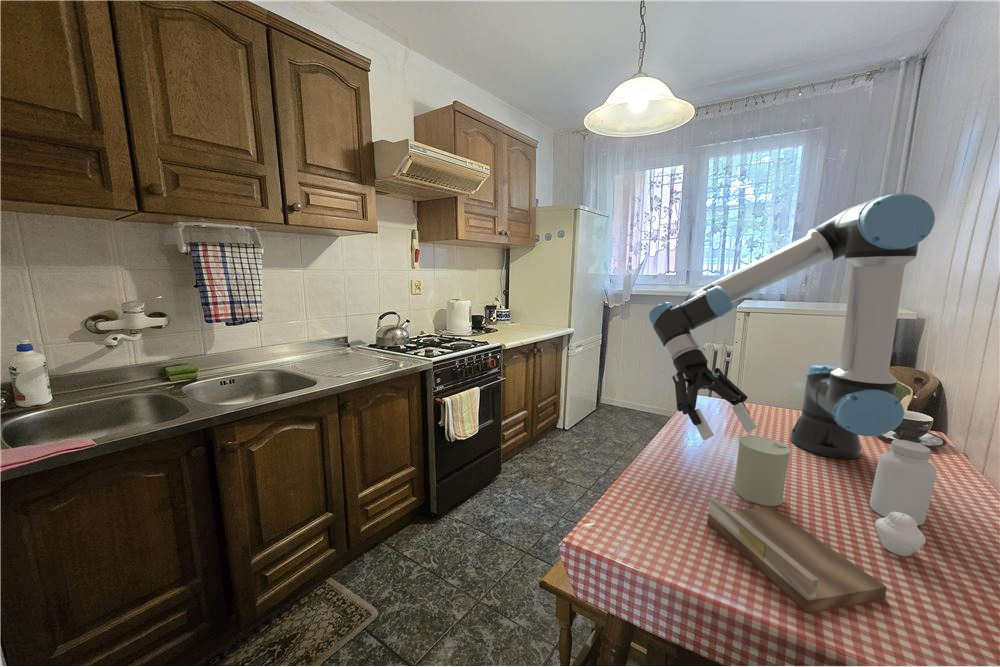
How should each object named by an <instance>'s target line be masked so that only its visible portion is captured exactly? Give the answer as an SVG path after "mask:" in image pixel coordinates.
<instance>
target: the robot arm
mask: <svg viewBox="0 0 1000 667" xmlns="http://www.w3.org/2000/svg"><path fill="white" fill-rule="evenodd" d="M935 222H936V216H935V211H934V209H933V207H932V206H931V204H929V202H928V201H926V200H925V199H924V198H922V197H920V196H918V195H915V194H912V193H911V194H910V193H904V192H903V193H893V194H888V195H887V194H885V195H880V196H877V197H875V198H873V199H871V200H868V201H864V202H860V203H857V204H855V205H853V206H850V207H847V209H845V210H842V211H841V212H840V213H838V214H837V215H835V216H834V217H832V218H830V219H828V220H826V221H825V222H823V223H821V224H819V225H817V226H816V227H813V228H812V229H810V230H808V232H807V234H806V236H805V237H802V238H800V239H798V240H796V241H794V242H792V243H790V244H788V245H786V246H784V247H782V248H780V249H777V250H776V251H774V252H772V253H770V254H768V255H766V256H764V257H761V258H760V259H758V260H755V261H754V262H751V263H749V264H748V265H745V266H744V267H742V268H740V269H738V270H735V271H734V272H733V271H732V272H731V273H730V274H728V275H725V276H723V277H721V278H720V279H718V280H715V281H713V282H712V283H710V284H707V285H705V286H703V287H701V288H698V289H694V290H693V291H691V292H689V293H688V294H687V295H686V297H685V298H684V299H685V300H684V302H682V303H680V304H678V305H674V303H672V302H668V301H666V302H663V303H659V304H658V305H655V306H654V307H652V309H651V310H650V311H649V313H648V319H649V321H650V323H651V326H652V328H653V330H654V331H655V333H656V335H657V338H659V341H660V342H661V344H662V346H663V348H664V349H665V351H666V353H667V355H668V356H669V358H670V360H671V361H672V364H673V366H674V368H675V370H676V373H675V374H673V376H672V377H671V378H672V381H673V383H674V388H675V398H676V399H675V401H676V409H677V412H679V413H680V412H682V414H683V415H688V416H689V420H690V421H691V423H692V424H693V425H694V426H695V427H696V429H697V431H698V433H699V434H700V436H701V438H702V440H703V441H706V440H708V439H710V438H712V437H713V436H715V433H713V430H712V428H711V427H710V425H709V423H708V421H707V420H706V418H705V417H704V413H703V412H702V411H701V409H700V408H696V405H697V400H698V393H699V391H700V390H708V391H713V393H715V394H717V395H718V396H719V397H720V398H722V399H724V400H725V401H727V402H728V403H730V405H733V406H731V409H732V410H733V412H734V414H735V415H736V417H737V419H738V420H739V422H740V424H741V425H742V427H743V429H744V430H745V433H750V432H752V431H754V430H756V429H758V428H759V427H758V425H757V424H756V423H755V421H754V419H753V418H752V416H751V413H750V411H749V410H748V408H747V407H746V405H745V403H744V402H746V401H747V399H748V396H747V394H745V393H744V392H743V391H742V390H741V389H740V388H739V387H738V386H737V385H736V384H735V383H733V382H732V381H731V380H730V379H729V378H728V377H727V376H726V375H725V374H724V373H723V371H722V370H721V369H720V368H719V367H715V369H712V370H711V369H709V367H708V363H709V362H708V359H707V357H706V356H705V354H704V352H703V351H702V350H701V349H700V345H699V344H698V342H697V341H696V339H695V337H694V336H693V334H692V333H691V331H693V330H695V329H697V328H699V327H701V326H703V325H705V324H708V323H711V322H712V321H713V320H715V319H719V318H722V317H723V316H724V315H726V314H727V313H729V312H731V311H733V309H734V305H733V303H735V302H736V301H738V300H741V299H742V298H745V297H747V296H749V295H751V294H753V293H756V292H758V291H760V290H762V289H765V288H767V287H768V286H771V285H773V284H775V283H777V282H780V281H782V280H784V279H786V278H788V277H791V276H792V275H794V274H797V273H799V272H802V271H803V270H806V269H807V268H811V267H812V266H814V265H817V264H819V263H821V262H827V263H829V262H830V263H831V262H832V261H835V260H837V259H839V258H841V257H844V260H845V261H846V262H847V263H848V264H849V265H850V266H851V275H850V279H849V280H850V281H849V282H850V283H849V289H848V297H847V305H846V313H845V321H844V327H843V328H844V329H843V334H842V335H843V336H842V343H841V345H842V346H841V352H840V360H839V365H832V364H831V365H830V364H812V365H810V366H809V367H808V371H807V374H806V377H805V378H806V382H805V388H804V396H803V403H802V409H801V410H802V411H801V415H800V417H799V418H798V419H797V421H796V422H795V424H794V427H793V428H792V429H791V431H790V437H789V439H790V442H791V443H793V445H795V446H798V447H799V448H801V449H803V450H806V451H808V452H811V453H814V454H817V455H820V456H824V457H830V458H834V459H835V458H836V459H844V460H853V459H858V458H859V457H861V453H862V444H861V442H860V436H863V437H878V436H879V437H880V436H883V435H887V433H889V432H892V431H894V430H895V429H897V428H898V427H899V426H900V425H901V423H902V422H903V419H904V417H905V409H904V406H903V404H902V402H901V401H900V399H899V398H898V397H897V396H896V392H897V387H898V386H897V384H898V379H897V378H896V377H895V376H894V375H893V374H892V373H891V372H890V367H891V366H890V365H891V360H892V352H893V345H894V340H895V333H896V326H897V321H898V312H899V306H900V301H901V300H900V299H901V294H902V289H903V288H902V286H903V282H904V281H903V279H904V274H905V273H904V272H905V267H906V266H907V264H909V263H911V262H912V261H914V260H916V259H917V256H918V254H917V253H918V249H919V244H920V243H921V242H922V241H924V239H927V237H928V236H929V235H930V234H931V232H932V230H933V228H934V226H935V224H936V223H935Z"/></svg>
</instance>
